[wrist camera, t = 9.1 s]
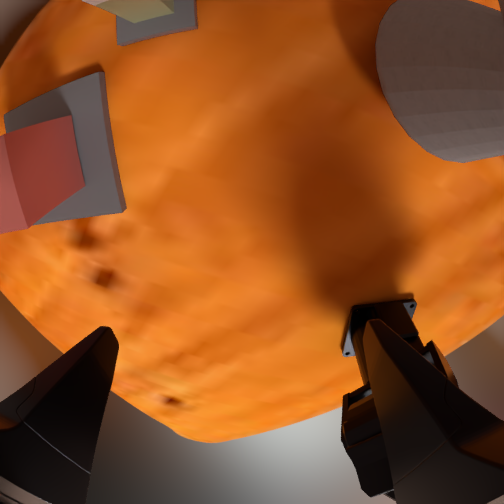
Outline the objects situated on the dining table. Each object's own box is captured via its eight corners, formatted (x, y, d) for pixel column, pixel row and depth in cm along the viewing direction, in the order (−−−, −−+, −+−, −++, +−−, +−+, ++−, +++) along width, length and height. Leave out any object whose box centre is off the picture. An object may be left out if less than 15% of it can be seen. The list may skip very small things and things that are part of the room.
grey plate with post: (126, 208, 19) (79, 260, 13) (34, 221, 20) (-15, 264, 14) (104, 72, 14) (37, 71, 8) (9, 113, 15) (-52, 133, 9)
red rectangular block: (85, 186, 17) (28, 228, 12) (37, 197, 18) (-17, 237, 12) (71, 115, 15) (3, 134, 9) (23, 134, 15) (-40, 160, 9)
